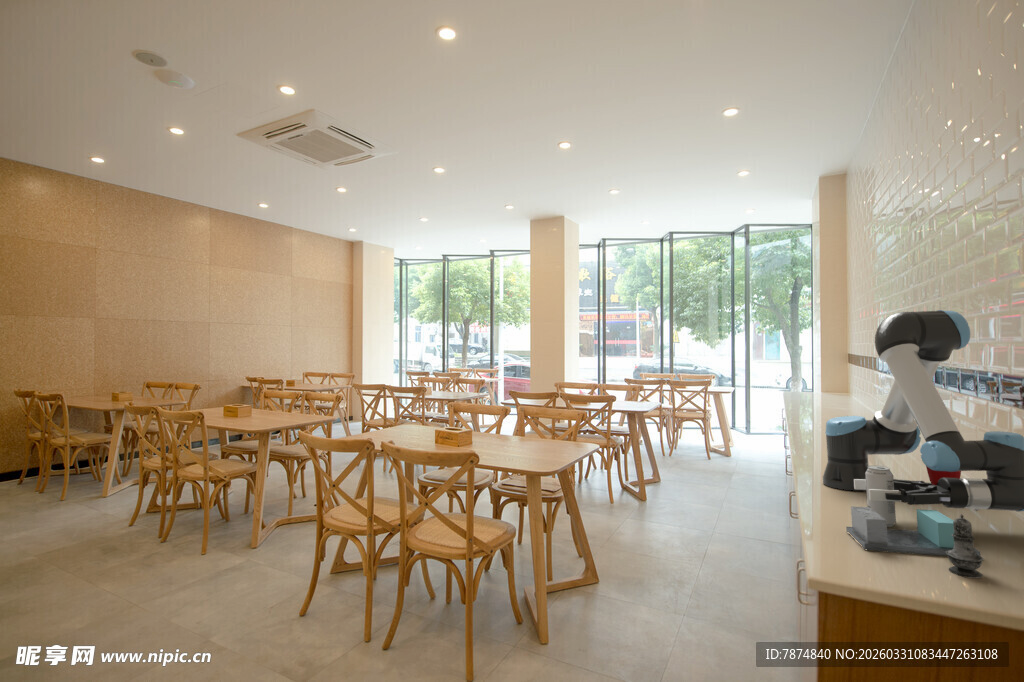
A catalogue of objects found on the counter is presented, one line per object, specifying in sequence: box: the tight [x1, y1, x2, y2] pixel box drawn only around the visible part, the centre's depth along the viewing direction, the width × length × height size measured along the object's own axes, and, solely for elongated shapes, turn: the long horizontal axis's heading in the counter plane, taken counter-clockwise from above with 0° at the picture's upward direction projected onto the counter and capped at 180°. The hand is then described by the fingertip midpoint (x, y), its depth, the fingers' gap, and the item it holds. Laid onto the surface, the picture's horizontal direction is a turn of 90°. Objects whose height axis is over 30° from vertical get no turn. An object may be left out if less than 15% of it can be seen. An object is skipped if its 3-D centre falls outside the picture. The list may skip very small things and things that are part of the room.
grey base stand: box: [845, 505, 981, 557], centre depth 119 cm, size 12×22×7 cm, turn 73°
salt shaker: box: [946, 513, 985, 579], centre depth 103 cm, size 6×6×12 cm
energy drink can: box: [865, 465, 897, 528], centre depth 133 cm, size 6×6×15 cm
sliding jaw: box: [916, 508, 955, 548], centre depth 117 cm, size 10×4×6 cm, turn 163°
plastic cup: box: [920, 454, 962, 485], centre depth 159 cm, size 11×11×12 cm
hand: (861, 489), depth 134 cm, fingers open, 10 cm apart
